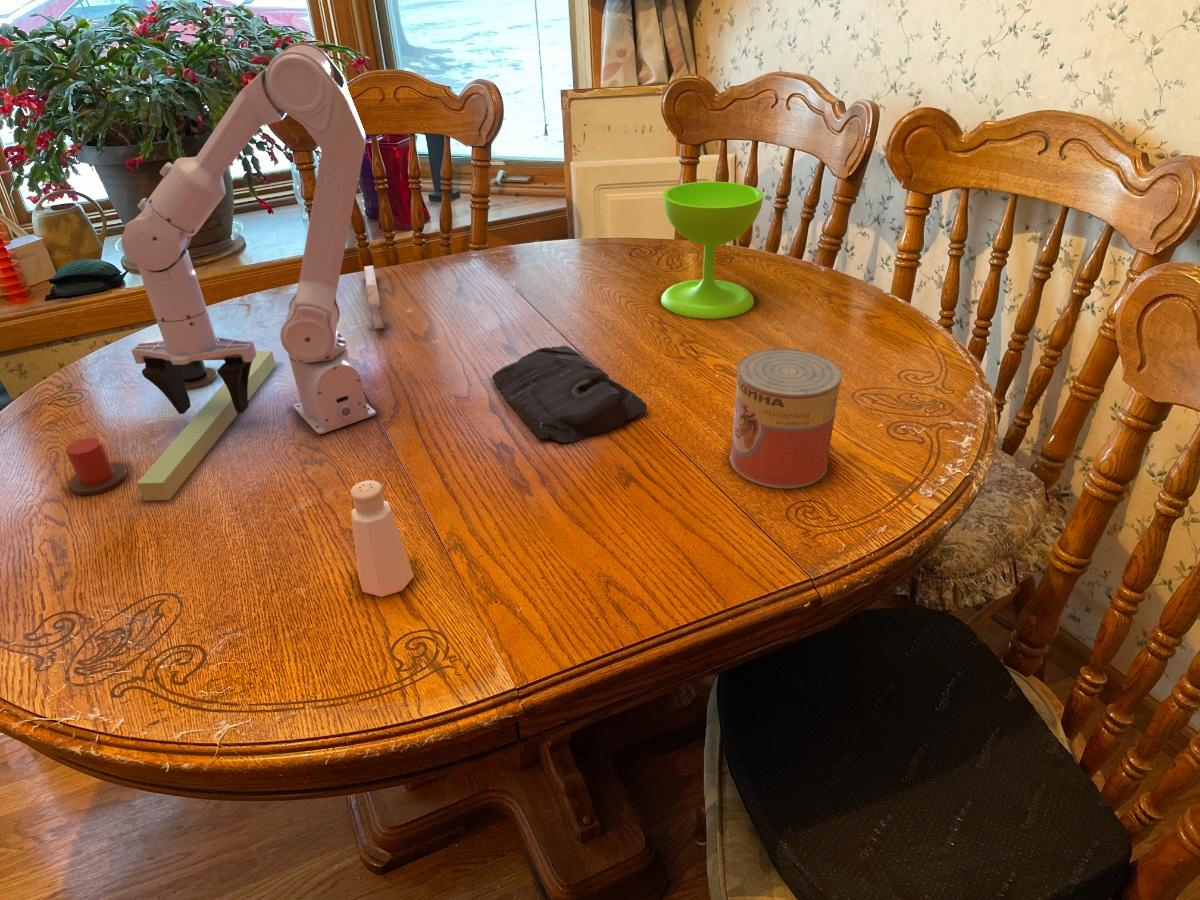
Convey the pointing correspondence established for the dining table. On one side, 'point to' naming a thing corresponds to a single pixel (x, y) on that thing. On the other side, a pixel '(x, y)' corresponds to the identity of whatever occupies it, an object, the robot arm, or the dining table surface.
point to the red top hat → (93, 468)
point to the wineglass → (710, 244)
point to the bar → (199, 436)
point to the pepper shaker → (377, 542)
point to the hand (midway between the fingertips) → (213, 409)
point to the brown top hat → (197, 374)
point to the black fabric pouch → (565, 395)
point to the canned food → (784, 417)
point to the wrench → (373, 297)
